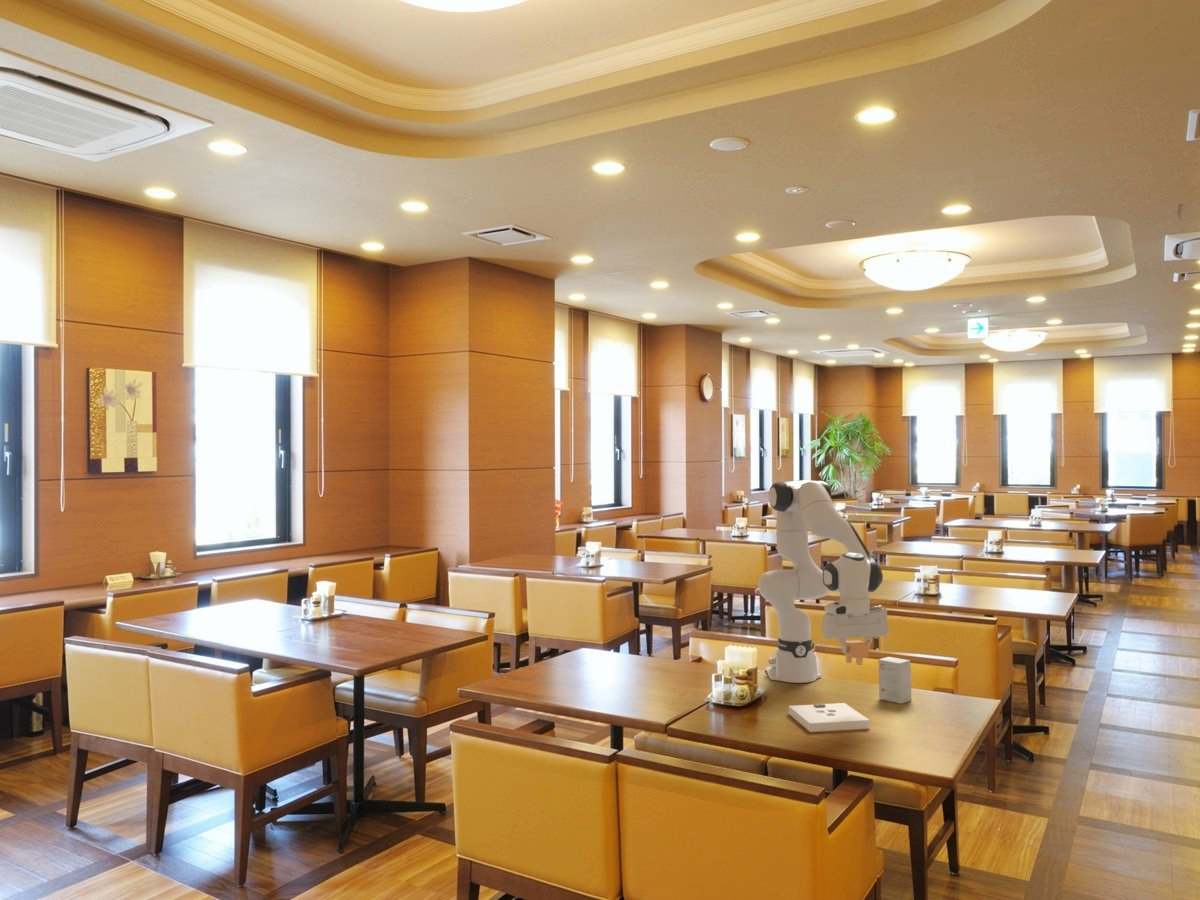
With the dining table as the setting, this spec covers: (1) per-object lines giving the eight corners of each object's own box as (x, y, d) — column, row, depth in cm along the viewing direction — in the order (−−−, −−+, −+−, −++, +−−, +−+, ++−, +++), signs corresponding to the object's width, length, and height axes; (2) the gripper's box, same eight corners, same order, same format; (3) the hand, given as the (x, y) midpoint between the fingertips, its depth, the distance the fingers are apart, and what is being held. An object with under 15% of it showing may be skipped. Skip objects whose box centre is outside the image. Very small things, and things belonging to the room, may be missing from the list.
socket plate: (788, 714, 266) (788, 703, 266) (844, 711, 269) (844, 701, 269) (810, 732, 249) (809, 721, 249) (869, 728, 251) (869, 717, 251)
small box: (911, 700, 279) (911, 660, 279) (901, 704, 275) (900, 663, 275) (889, 695, 285) (888, 656, 286) (878, 699, 281) (877, 659, 281)
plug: (844, 661, 266) (843, 640, 266) (859, 660, 267) (859, 640, 267) (852, 665, 260) (852, 644, 261) (868, 664, 261) (868, 644, 261)
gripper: (882, 603, 269) (883, 648, 268) (819, 606, 266) (820, 651, 266) (891, 606, 262) (892, 652, 262) (827, 609, 260) (828, 655, 259)
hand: (855, 651), depth 264 cm, fingers closed on plug, 5 cm apart
